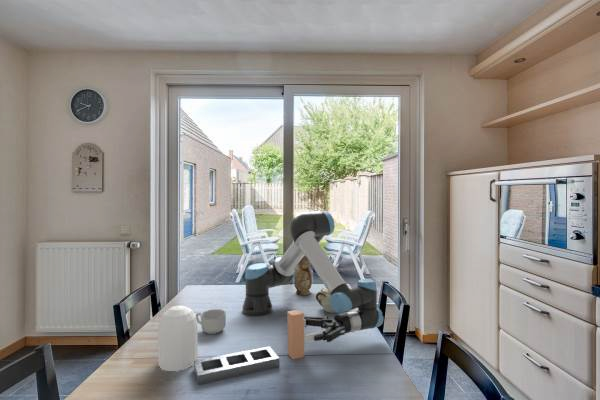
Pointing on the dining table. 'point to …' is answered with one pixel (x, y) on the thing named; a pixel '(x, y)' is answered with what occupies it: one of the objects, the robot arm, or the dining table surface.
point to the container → (177, 339)
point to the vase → (303, 277)
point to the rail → (238, 369)
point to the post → (295, 334)
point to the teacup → (212, 320)
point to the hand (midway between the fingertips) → (297, 332)
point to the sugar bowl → (324, 300)
